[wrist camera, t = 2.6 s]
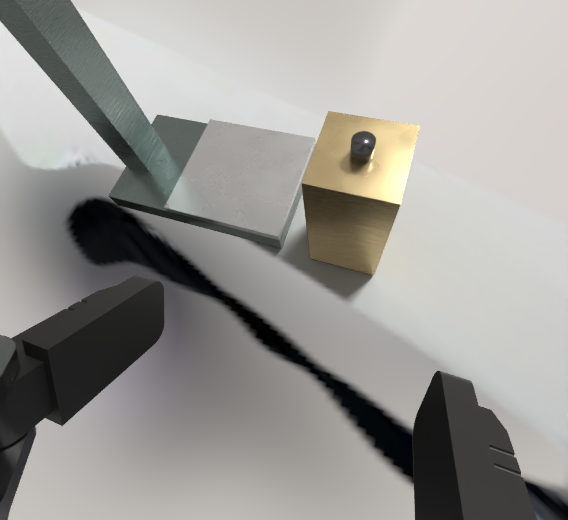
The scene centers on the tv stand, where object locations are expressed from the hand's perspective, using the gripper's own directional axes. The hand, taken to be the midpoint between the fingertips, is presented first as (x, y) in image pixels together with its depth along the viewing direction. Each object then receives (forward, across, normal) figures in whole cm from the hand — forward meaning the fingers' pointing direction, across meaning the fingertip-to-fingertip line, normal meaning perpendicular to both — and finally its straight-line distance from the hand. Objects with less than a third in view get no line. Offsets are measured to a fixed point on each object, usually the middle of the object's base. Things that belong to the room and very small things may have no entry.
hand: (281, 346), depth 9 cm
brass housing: (+18, 0, +3) cm, 18 cm away
